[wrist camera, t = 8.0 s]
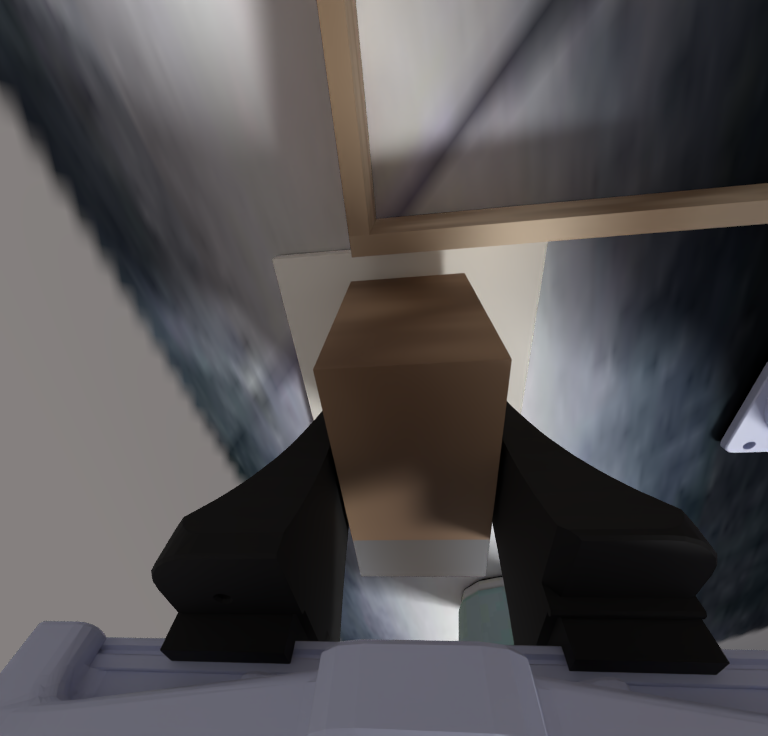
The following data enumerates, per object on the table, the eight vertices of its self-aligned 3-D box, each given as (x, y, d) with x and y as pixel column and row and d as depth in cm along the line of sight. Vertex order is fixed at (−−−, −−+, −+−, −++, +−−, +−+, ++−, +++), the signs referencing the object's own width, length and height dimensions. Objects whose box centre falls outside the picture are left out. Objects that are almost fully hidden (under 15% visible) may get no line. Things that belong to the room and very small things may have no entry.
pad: (542, 233, 12) (548, 236, 12) (512, 437, 18) (516, 445, 17) (277, 255, 13) (272, 259, 13) (323, 443, 18) (321, 451, 18)
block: (464, 273, 12) (511, 359, 7) (459, 442, 16) (485, 576, 11) (351, 281, 12) (312, 369, 7) (374, 445, 16) (361, 576, 11)
